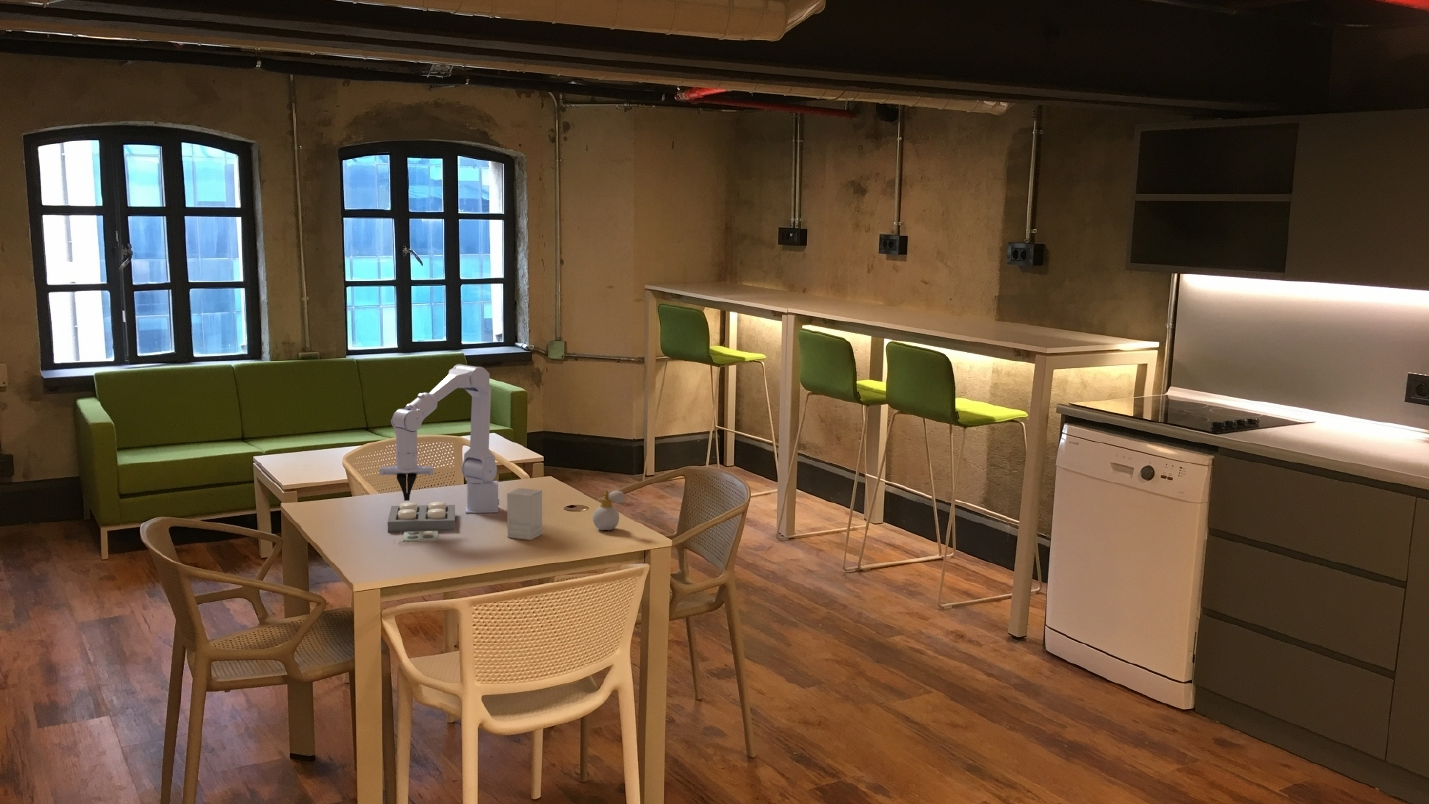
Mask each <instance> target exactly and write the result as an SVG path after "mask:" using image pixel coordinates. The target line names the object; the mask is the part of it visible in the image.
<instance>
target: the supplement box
mask: <svg viewBox="0 0 1429 804" xmlns="http://www.w3.org/2000/svg"><path fill="white" fill-rule="evenodd" d="M506 502H507V505H506V506H507V507H506V509H507V512H506V513H507V514H506V515H507V516H506V517H507V524H506V525H507V538H508V539H509V538H510V539H519V540H526V541H527V540H528V541H532V540H533V539H535V538H537V537H539V536H541V535H543V489H542V490H541V489H535V488H534V489H532V488H525V487H524V488H523V487H522V488H521V487H519V488H516V489H514V490H512V491H510V492H507V496H506Z"/></svg>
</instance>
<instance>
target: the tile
mask: <svg viewBox="0 0 1429 804" xmlns="http://www.w3.org/2000/svg"><path fill="white" fill-rule="evenodd" d="M438 536H439V531H438V530H433V531H404V532H403V537H402V542H403V543H405V542H406V543H407V542H409V543H410V542H411V543H412V542H413V543H414V542H438Z"/></svg>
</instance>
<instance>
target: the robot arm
mask: <svg viewBox="0 0 1429 804" xmlns="http://www.w3.org/2000/svg"><path fill="white" fill-rule="evenodd" d="M490 375H491V374H490V372H488V370H486V368H484V367H482V366H473V365H466V364H463V363H462V364H461V363H457V364H456V365H454V366H453V368H451V369H449V370H448V374H447V376H445V378H442V379H443V380H441V381H440V382H439V383H438V384H437V385H436V386H435V387H434V388H432V389H431V391H430V392H422V393H421V392H419V393H418V394H417V397H416V398H415V399H414V400H412V401H411V402H410V403H407V404H406V405H405V407H404V408H398V409H397V410H396V411H395V412H394V413H393V415H392V418H391V419H390V422H391V423H390V424H391V426H392V427H393V429H394V434H395V466H383V467H382V466H380V467H379V476H386V475H387V476H391V475H392V476H395V475H396V480H397V482H398V484H399V486H400V488H401V489H400V490H401V491H402V494H403V500H404V501H405V502H406V501H407V502H409V501H410V497H411V493H412V489H413V486H414V484H415V482H416V480H417V477H418V476H417V475H429V476H433V475H434V474H435V473H434V471H435V470H434V466H425V465H424V466H423V465H422V466H421V465H418V430H419V429H420V428H421V426H422V424H423V421H424V420H425V419H426V417H428V416H430V414H432V413H433V412H434V411H436V409H438V402H439V401H441V400H442V399H444V398H445V397H446V396H448V395H449V394H450V393H452V392H454V391H455V390H457V389H464V390H465V391H466V392H467V393H468V394H469V395H470V396H471V410H470V411H471V412H470V413H471V414H470V415H471V417H470V439H469V440H470V442H469V449H468V450H466V451H465V452H464V454H463V460H462V463H461V466H460V467H461V468H460V470H461V474H462V475H463V476H464V478H465V481H466V505H465V507H464V509H465V513H466V514H479V513H481V514H482V513H487V514H488V513H498V512H499V506H500V499H499V480H494V479H495V478H496V476H497V473H498V466H497V463H496V456H495V455H494V454H493V452H492V451H491V450H490V448H489V447H490V432H491V431H490V427H491V402H492V388H491V384H490Z"/></svg>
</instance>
